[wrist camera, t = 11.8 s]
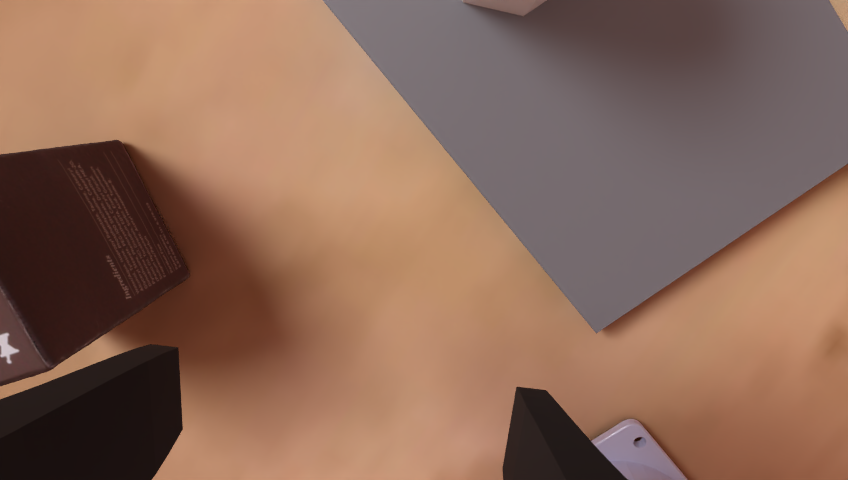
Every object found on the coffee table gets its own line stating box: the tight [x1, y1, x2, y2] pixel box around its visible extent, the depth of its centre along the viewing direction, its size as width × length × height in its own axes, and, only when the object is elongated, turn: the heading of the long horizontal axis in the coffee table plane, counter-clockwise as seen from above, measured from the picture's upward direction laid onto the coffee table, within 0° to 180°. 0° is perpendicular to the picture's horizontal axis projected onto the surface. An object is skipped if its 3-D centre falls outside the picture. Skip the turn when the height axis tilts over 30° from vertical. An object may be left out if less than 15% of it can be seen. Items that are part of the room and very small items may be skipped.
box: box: [0, 140, 189, 386], centre depth 16 cm, size 6×6×7 cm
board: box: [323, 0, 848, 333], centre depth 16 cm, size 17×12×1 cm
